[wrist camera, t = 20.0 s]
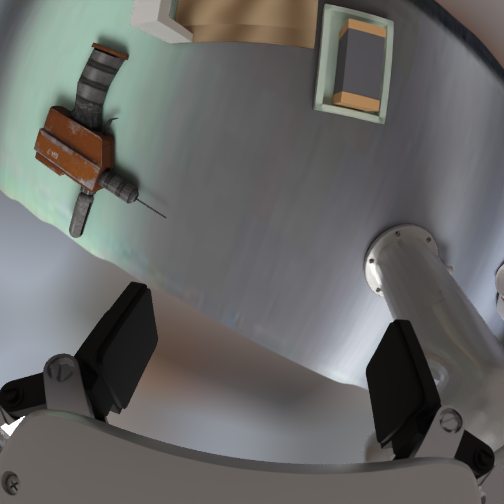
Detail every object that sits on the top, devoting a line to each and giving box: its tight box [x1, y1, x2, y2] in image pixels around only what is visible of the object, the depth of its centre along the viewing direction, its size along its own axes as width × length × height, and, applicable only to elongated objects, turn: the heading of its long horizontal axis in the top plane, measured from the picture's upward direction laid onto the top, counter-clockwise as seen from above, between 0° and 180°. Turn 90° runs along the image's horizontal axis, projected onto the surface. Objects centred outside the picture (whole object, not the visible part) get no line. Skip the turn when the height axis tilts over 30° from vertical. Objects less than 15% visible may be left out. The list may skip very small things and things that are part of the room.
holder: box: [173, 0, 318, 49], centre depth 25 cm, size 18×10×1 cm, turn 85°
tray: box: [313, 4, 394, 125], centre depth 26 cm, size 9×14×2 cm, turn 175°
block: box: [332, 18, 386, 111], centre depth 24 cm, size 10×4×6 cm, turn 174°
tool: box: [34, 43, 166, 238], centre depth 35 cm, size 4×27×30 cm
